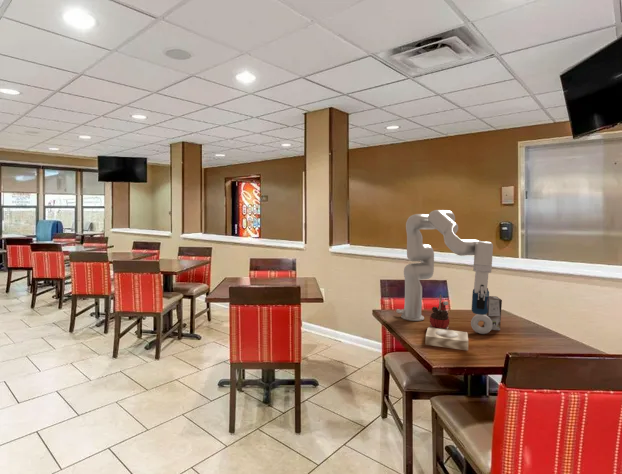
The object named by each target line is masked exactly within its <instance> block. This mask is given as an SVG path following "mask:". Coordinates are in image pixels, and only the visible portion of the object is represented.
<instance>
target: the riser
mask: <svg viewBox="0 0 622 474" xmlns="http://www.w3.org/2000/svg"><path fill="white" fill-rule="evenodd" d="M424 343H425V345H426V346H433V347H442V348H448V349H453V350H462V351H469V334H468V332H467V331H461V330H453V329H449V330H445V329H437V328H430V326H429V327H427V330H426V333H425V342H424Z"/></svg>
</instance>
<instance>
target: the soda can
mask: <svg viewBox="0 0 622 474" xmlns="http://www.w3.org/2000/svg"><path fill="white" fill-rule="evenodd" d="M479 293H481V292H479ZM479 296H480V295H479ZM489 296H490V291H489V287H487V293H486V294H485V308H484V309H478V308H477V300H478V293H475V292H474V288H473V289H472V299H471V311H472V313H473V314H475V315H486V314H487V313H488V304H489Z"/></svg>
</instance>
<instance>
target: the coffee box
mask: <svg viewBox="0 0 622 474" xmlns="http://www.w3.org/2000/svg"><path fill="white" fill-rule="evenodd" d="M502 300H503V299H501V298H499V297H498V296H494V295H491V296H490V295H489V304H488V313H487V314H486V316H488V317H489V318H490V319H491V321H492V324H493V326H492V329H491V331H492V330H493V331H501V323H502V321H501V320H502V303H503V301H502ZM484 326H485V322H484V321H483V327H484Z"/></svg>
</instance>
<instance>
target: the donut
mask: <svg viewBox="0 0 622 474" xmlns="http://www.w3.org/2000/svg"><path fill="white" fill-rule="evenodd" d="M479 322H483V323H484V322H485V326H484V325H483V326H480V325H479ZM470 326H471V328H472V330H473V331H474V332H475V333H477V334H480V335H485V334H488V333H490V331H492V330H491V329H492V326H493V324H492V321H491V319H490V318H489V317H488V316H486V315H478V314H475V315H474V316H473V317H472V319H471V321H470Z"/></svg>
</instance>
